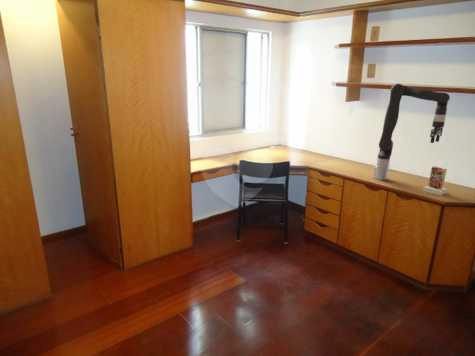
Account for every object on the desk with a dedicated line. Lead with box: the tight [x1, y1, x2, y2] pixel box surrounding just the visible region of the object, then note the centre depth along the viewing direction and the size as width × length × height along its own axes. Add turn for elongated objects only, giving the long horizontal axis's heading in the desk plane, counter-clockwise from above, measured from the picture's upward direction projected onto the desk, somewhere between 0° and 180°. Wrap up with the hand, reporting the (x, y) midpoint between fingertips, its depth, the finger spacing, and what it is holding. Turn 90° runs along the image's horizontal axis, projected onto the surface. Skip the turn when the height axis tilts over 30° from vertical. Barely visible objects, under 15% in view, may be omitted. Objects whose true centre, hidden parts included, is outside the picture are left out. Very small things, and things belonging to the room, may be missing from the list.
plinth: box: [422, 185, 447, 196], centre depth 250 cm, size 12×10×3 cm
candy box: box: [427, 165, 447, 190], centre depth 248 cm, size 9×4×15 cm, turn 35°
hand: (434, 142), depth 255 cm, fingers open, 8 cm apart
